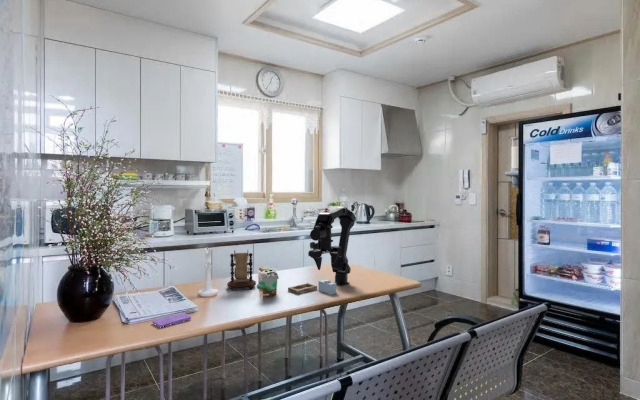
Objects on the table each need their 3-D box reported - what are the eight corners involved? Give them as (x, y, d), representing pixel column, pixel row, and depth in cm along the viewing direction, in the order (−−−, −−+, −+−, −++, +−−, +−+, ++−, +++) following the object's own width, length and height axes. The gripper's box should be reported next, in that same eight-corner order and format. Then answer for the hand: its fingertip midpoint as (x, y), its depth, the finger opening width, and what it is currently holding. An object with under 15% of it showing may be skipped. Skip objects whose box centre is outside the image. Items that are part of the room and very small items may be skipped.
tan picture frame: (307, 286, 197) (307, 283, 197) (317, 289, 192) (316, 286, 191) (288, 291, 189) (288, 287, 189) (297, 294, 183) (297, 290, 183)
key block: (324, 289, 193) (324, 278, 192) (336, 293, 186) (336, 281, 186) (318, 290, 190) (318, 279, 190) (330, 294, 183) (330, 283, 183)
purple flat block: (191, 321, 149) (191, 316, 149) (159, 329, 140) (159, 324, 140) (183, 316, 154) (183, 312, 153) (152, 324, 145) (152, 320, 145)
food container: (274, 298, 176) (274, 278, 175) (261, 298, 177) (261, 277, 177) (281, 291, 188) (281, 271, 188) (270, 290, 189) (270, 271, 189)
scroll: (226, 292, 186) (226, 252, 185) (227, 284, 201) (227, 247, 200) (256, 290, 189) (256, 251, 188) (255, 283, 204) (255, 247, 203)
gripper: (328, 234, 199) (328, 262, 200) (301, 238, 186) (301, 268, 187) (343, 236, 190) (343, 266, 191) (315, 240, 178) (315, 272, 179)
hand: (325, 268), depth 187 cm, fingers open, 9 cm apart
